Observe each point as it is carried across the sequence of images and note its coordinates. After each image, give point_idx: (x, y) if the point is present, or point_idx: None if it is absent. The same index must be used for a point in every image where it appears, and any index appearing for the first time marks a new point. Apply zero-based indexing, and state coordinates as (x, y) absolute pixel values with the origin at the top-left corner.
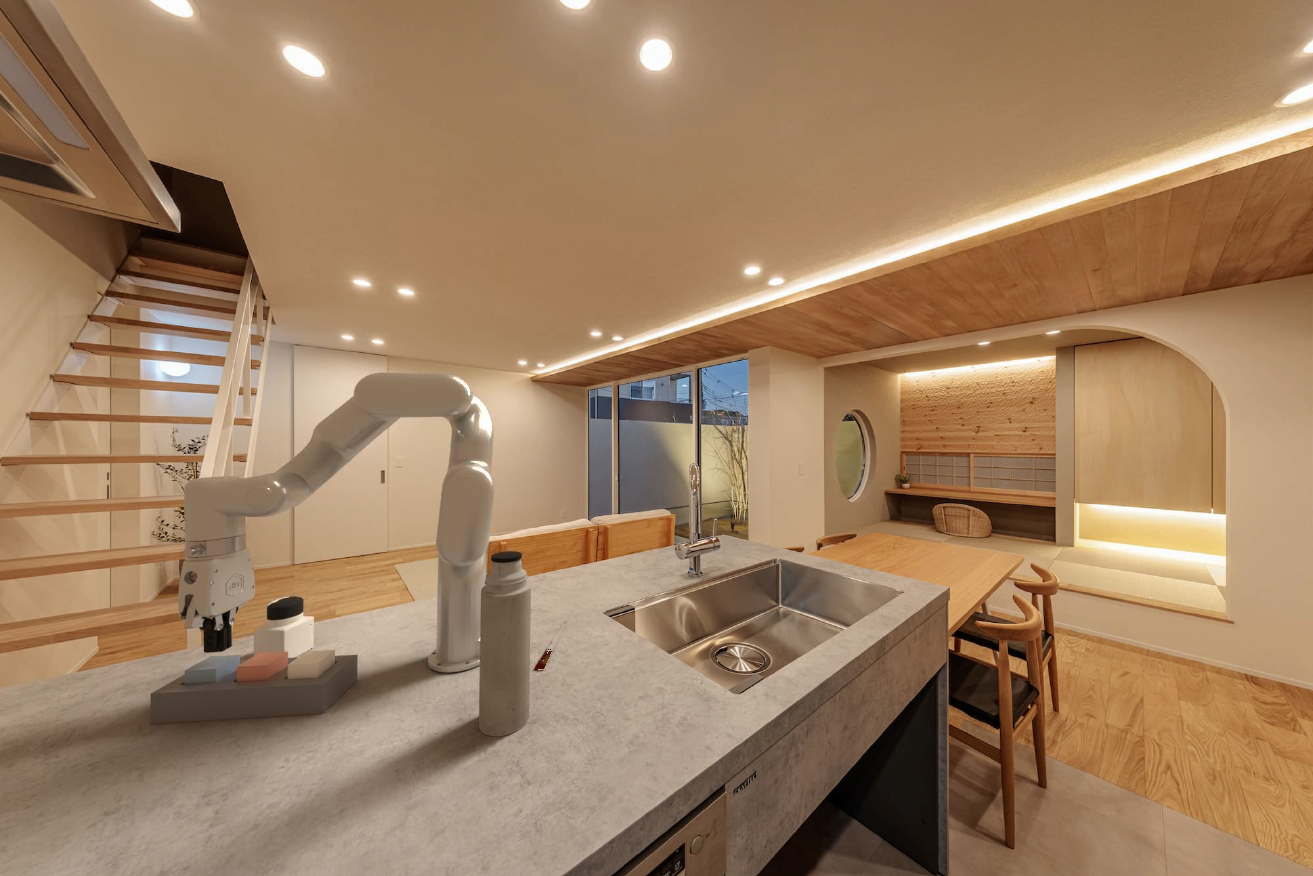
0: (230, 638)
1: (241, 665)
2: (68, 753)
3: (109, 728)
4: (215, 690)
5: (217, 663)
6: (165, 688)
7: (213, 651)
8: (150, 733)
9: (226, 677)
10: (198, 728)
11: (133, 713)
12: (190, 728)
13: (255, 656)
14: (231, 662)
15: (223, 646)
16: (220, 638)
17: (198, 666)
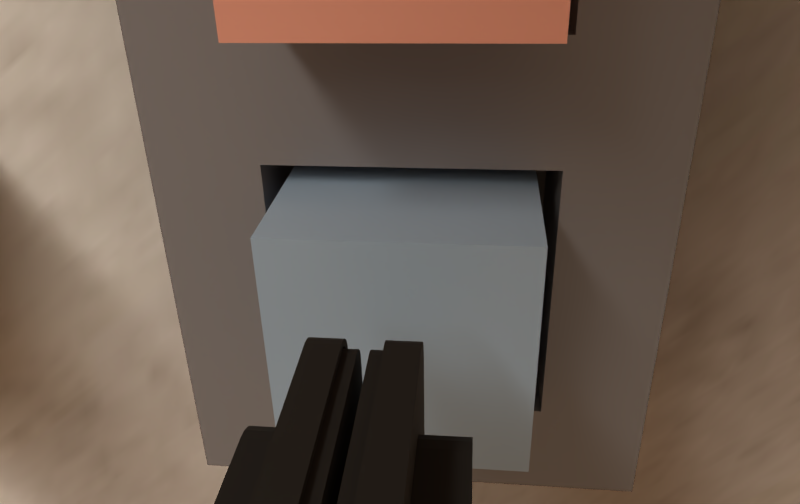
0: (301, 412)
1: (543, 8)
2: (776, 498)
3: (596, 493)
4: (702, 80)
5: (423, 315)
6: (578, 456)
7: (422, 430)
8: (701, 293)
9: (472, 156)
10: (727, 57)
11: (477, 491)
12: (711, 111)
13: (316, 12)
14: (362, 228)
15: (416, 380)
16: (410, 494)
17: (468, 422)
